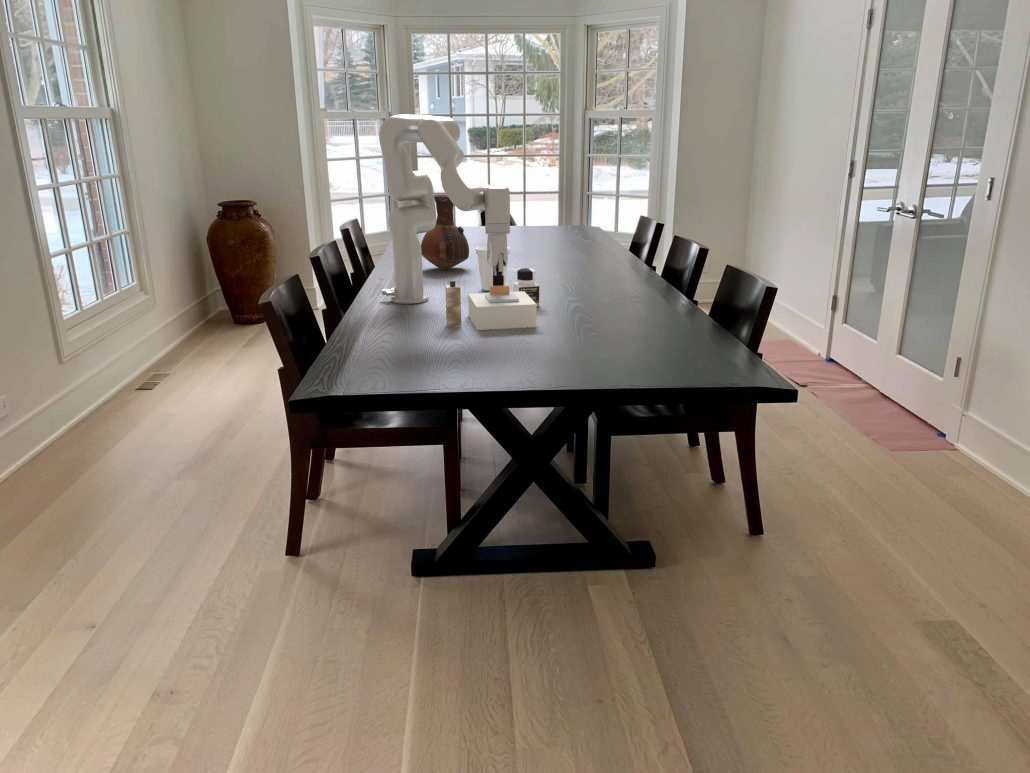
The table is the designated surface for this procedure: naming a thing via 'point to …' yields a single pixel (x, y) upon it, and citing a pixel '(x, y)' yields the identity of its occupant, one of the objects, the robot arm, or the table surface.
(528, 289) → the medicine bottle
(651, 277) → the table surface
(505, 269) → the cup
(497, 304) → the socket
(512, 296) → the grey tile with orange
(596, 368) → the table surface
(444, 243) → the vase
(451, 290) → the plug
